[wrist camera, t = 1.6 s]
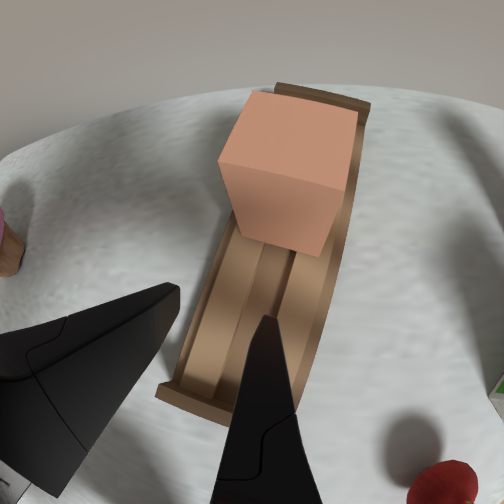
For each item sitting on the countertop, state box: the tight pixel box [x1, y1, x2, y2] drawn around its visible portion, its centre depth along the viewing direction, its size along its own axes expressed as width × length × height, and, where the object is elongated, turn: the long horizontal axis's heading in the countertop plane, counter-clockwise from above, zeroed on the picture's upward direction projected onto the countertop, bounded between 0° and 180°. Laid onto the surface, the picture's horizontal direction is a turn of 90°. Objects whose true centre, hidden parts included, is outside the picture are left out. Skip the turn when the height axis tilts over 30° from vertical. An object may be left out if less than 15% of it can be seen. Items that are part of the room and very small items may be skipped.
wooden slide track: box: [155, 82, 371, 427], centre depth 21 cm, size 28×9×4 cm, turn 162°
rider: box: [218, 91, 358, 258], centre depth 17 cm, size 5×6×10 cm
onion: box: [407, 460, 478, 504], centre depth 12 cm, size 6×6×8 cm
